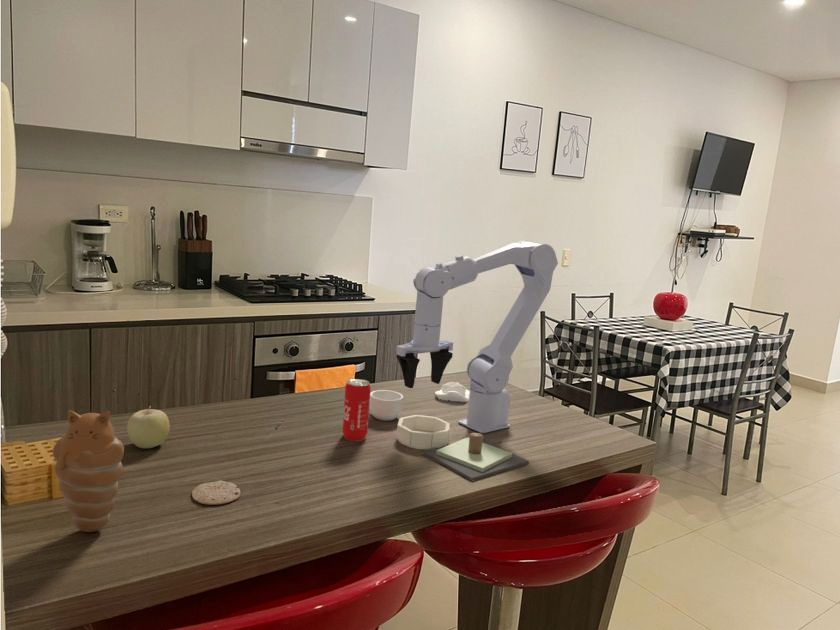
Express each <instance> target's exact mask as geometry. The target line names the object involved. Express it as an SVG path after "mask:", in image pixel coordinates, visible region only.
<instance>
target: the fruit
mask: <svg viewBox="0 0 840 630" xmlns="http://www.w3.org/2000/svg"><path fill="white" fill-rule="evenodd" d="M170 427H171V426H170V420H169V417H168V415H167V414H166V413H165V412H164V411H162V410H160V409H154V408H153V409H152V406H151V405H149V407H148V408H145V409H141V410H138V411H137V412H134V413H133V414H132V415H131V417H129V419H128V421H127V427H126V430H127V434H128V436H129V439H130V441H131V442H132V443H133V444H134V445H135V446H136V447H137V448H140V449H144V450H145V449H152V448H155V447H158V446H159V445H162V443H164V441H166V439H167V437H168V435H169V432H170Z"/></svg>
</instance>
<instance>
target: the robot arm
mask: <svg viewBox="0 0 840 630" xmlns="http://www.w3.org/2000/svg"><path fill="white" fill-rule="evenodd" d="M558 264H559V261H558V258H557V253H556V251H555V249H554V248H553V246H552V245H550V244H546V243H537V242H531V241H530V240H529V241H528V240H521V241H518V242H512V243H509V244H508V245H505V246H502V247H501V248H498V249H496V250H493V251H490V252H488V253H486V254H482V255H481V256H477V257H475V258H473V259H472V258H471V257H470V256H467V255H465V256H464V255H461V254H459V255H457V256H455V259H453V260H451V261H447V262H445V263H441V262H438V263H436V264H435V266H434V268H433V267H430V266H429V267H424V268H421V269H420V270H419V271H418V272H417V273H416V275H415V277H414V278H413V285H414V286H413V287H414V288H415V290H416V302H415V311H414V324H413V325H414V327H413V337H412V339H411V341H410V342H408V343H405V344H399V345H396V351H395V352H396V353H395V354H396V359H397V361H398V364H399V366H400V369H401V372H402V377H403V382H404V383H403V384H404V386H405V387H407V388H409V389H413V388H414V385H415V380H416V373H417V369H418V366H419V363H420V361H421V360H420V358H418V357H416V356H415V355H417V354H426V353H429V355H430V361H431V362H430V363H431V368H430V369H431V371H430V381H431V383H434V384H437V385H440V383H441V380H442V378H443V375H444V372H445V370H446V367H447V366H448V364H449V362H450V361H451V360H452V359H453V355H454V354H453V352H451V351H453V349H454V342H453V341H452V340H440V339H441V329H442V328H441V327H442V316H443V305H444V296H445V295H446V294H447V293H448V292H449V291H450V290H453V289H456V288H458V287H461V286H464V285H467V284H470V283H473V282H474V281H476V280H477V277H478V276H479V274H481V273H485V272H487V271H491V270H494V269H498V268H503V267H505V266H508V265H514V267H515V268H516V269H517V271H518V273H519V274H520V275H521V279H522V282H523V284H524V285H523V288H522V290H521V291H520V293H519V294H518V296H517V298H516V300H515V301H514V303H513V304H512V307H511V308H510V310H509V312H508V313H507V315H506V316H505V319H503V321H502V323H501V325H500V327H499V328H498V330H497V332H496V334H495V335H494V337H493V339H492V340H491V342H490V343H489V344H488V345H486V346H484V347H482V348H481V349H480V350H479V352H477V355H475V356H474V357H472V358H471V359H470V361H469V362H468V364H467V366H466V374H467V376H468V378H469V380H470V383H469V384H470V385H469V391H470V393H469V401H468V402H467V403H468V405H467V413H466V416H467V417H466V418H464V419H460V420H458V424H461V425H462V426H464V427H467V428H469V429H472V430H473V431H475V432H476V433H479V434H486V433H490V432H495V431H498V430H502V429H507V428H511V424H509V422H508V421H509V416H510V415H509V413H510V403H511V397H510V394H509V392H508V390H507V389H506V387H507V386H508V384H509V381H510V380H509V379H510V374H511V371H512V370H513V367H514V365H513V360H512V356H513V354H514V352H515V350H516V349H517V346H518V345H519V343H520V342H521V340H522V339H523V337H524V335H525V333H526V332H527V330H528V328H529V327H530V324H531V323H532V322H533V320H534V318H535V316H536V314H537V313H538V311H539V310H540V308H541V306H542V305H543V303H544V301H545V299H546V297H547V295H548V294H549V292H550V290H551V288H552V280H553V275H554V271H555V270H556V268H557V266H558Z"/></svg>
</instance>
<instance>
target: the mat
mask: <svg viewBox="0 0 840 630" xmlns="http://www.w3.org/2000/svg"><path fill="white" fill-rule="evenodd" d="M482 442H483V443H485V444H488V445H491V446H494V447H497V448H499V449H502V450H505V451H508V452H510V451H509V450H507V449H504V448H502V447H500V446H498V445H496V444H494V443H492V442H490V441H488V440H485V439H484V438H483V441H482ZM448 445H449V444H447V445H446V446H448ZM443 447H445V446H443ZM443 447H439V448H435V449H431V450H422V455H424V456H426V458H429V459H431V460H433V461H434V462H435V463H438V464H440V465H441V466H443V467H445V468H447V469H449V470H450V471H452V472H454V473H456V474H458V475H460V476H462V477H464V478H465V479H467V480H469V481H471V482H473V480H474V481H477V480H480V479H483V478H487V477H490V476H492V475H495V474H499V473H503V472H506V471H509V470H513V469H515V468H518V467H522V466H525V465H528V464H529V462H530V460H528V459H526V458H524V457H523V456H519V455H518V454H516V453H513V452H511V453H512V457H511V458H509V459H507V460H505V461H503V462H501V463H499V464H497V465H495V466H493V467H491V468H489V469H487V470H485V471H483V472H481V471H478V470H476V469H473V468H470V467H468V466H465V465H463V464H460V463H458V462H455V461H453V460H450V459H447V458H445V457H442V456H440V455H437V454H436V450H438V449H441V448H443Z"/></svg>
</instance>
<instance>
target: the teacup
mask: <svg viewBox="0 0 840 630" xmlns="http://www.w3.org/2000/svg"><path fill="white" fill-rule="evenodd" d="M403 402H404V395H403V394H401V393H400V392H398V391H394V390H389V389H388V390H387V389H386V390H385V389H378V390H374V391H370V403H369V412H370V413H371V415H372V416H373V417H374V418H375V419H377V420H379V421H388V422H389V421H394V420H395V419H396V418H398V417H399V416H400V415H401V412H402V408H403Z"/></svg>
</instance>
